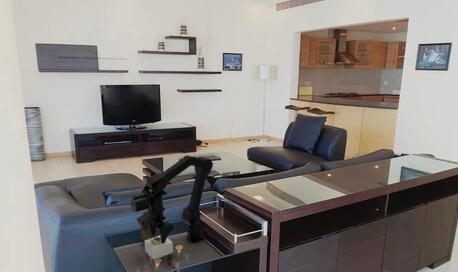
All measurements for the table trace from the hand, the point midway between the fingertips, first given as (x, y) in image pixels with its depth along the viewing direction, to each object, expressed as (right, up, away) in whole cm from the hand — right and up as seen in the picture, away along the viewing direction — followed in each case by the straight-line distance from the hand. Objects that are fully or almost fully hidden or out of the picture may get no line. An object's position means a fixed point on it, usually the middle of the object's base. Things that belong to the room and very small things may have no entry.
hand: (158, 239), depth 146 cm
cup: (-6, -5, +9) cm, 12 cm away
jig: (0, -6, +1) cm, 6 cm away
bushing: (0, -6, +1) cm, 6 cm away
